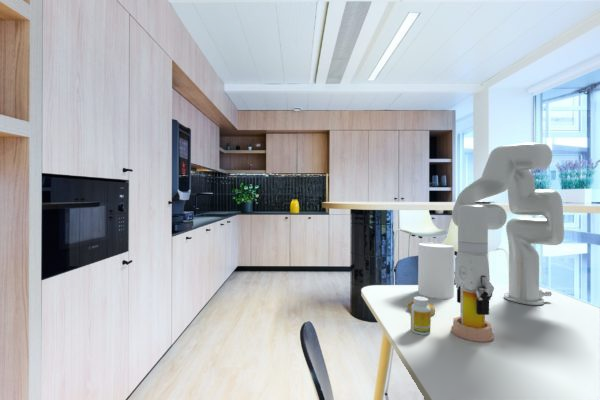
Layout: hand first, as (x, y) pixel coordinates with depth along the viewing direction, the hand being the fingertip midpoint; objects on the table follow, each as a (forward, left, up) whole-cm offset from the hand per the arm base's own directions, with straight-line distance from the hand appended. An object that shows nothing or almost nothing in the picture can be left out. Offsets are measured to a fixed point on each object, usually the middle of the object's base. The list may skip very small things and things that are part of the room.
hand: (472, 308), depth 90 cm
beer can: (0, 0, -7) cm, 7 cm away
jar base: (0, 0, -7) cm, 7 cm away
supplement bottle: (+14, -2, -8) cm, 16 cm away
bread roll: (+7, -18, -8) cm, 21 cm away
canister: (-8, -39, -8) cm, 41 cm away
